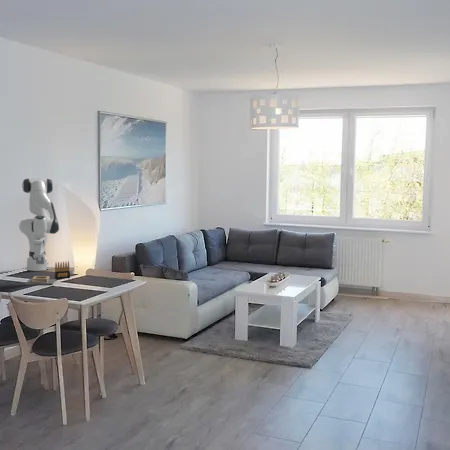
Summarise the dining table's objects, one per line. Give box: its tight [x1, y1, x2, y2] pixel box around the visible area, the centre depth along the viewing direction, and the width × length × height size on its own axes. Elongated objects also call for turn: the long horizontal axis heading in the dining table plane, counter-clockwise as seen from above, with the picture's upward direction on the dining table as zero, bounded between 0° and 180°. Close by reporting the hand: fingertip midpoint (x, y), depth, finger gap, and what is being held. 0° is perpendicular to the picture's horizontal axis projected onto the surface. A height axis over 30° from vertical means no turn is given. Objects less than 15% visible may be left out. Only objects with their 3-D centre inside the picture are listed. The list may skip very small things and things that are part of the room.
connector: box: [36, 254, 46, 264], centre depth 403 cm, size 4×5×6 cm
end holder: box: [24, 275, 57, 286], centre depth 405 cm, size 16×18×4 cm
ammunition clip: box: [54, 260, 71, 280], centre depth 421 cm, size 11×2×12 cm, turn 120°
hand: (40, 259), depth 403 cm, fingers closed on connector, 4 cm apart
